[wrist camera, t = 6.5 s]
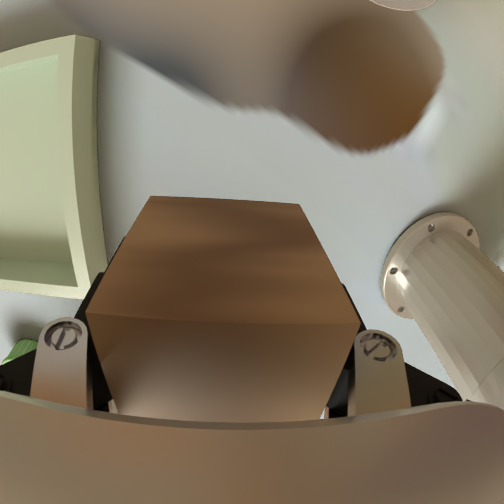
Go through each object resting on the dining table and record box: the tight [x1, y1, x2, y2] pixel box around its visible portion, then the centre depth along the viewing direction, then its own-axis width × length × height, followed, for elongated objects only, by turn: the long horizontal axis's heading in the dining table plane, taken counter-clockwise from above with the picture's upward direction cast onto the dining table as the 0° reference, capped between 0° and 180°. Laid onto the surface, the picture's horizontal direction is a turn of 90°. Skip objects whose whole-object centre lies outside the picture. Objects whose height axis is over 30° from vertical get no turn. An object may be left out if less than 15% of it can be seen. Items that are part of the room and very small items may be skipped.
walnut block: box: [85, 196, 361, 423], centre depth 9 cm, size 5×5×6 cm
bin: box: [0, 34, 108, 299], centre depth 20 cm, size 16×20×4 cm
